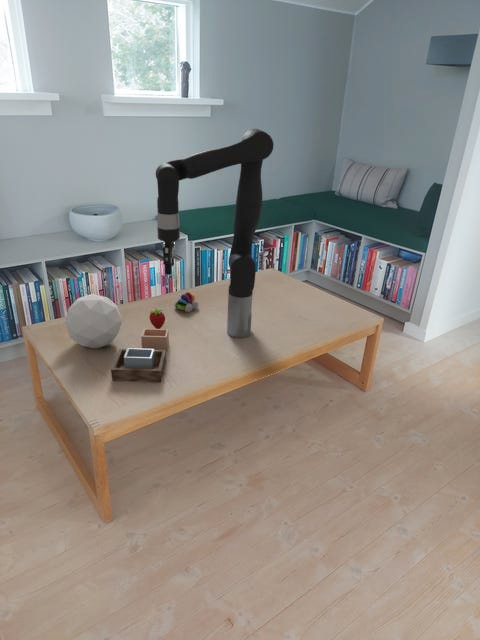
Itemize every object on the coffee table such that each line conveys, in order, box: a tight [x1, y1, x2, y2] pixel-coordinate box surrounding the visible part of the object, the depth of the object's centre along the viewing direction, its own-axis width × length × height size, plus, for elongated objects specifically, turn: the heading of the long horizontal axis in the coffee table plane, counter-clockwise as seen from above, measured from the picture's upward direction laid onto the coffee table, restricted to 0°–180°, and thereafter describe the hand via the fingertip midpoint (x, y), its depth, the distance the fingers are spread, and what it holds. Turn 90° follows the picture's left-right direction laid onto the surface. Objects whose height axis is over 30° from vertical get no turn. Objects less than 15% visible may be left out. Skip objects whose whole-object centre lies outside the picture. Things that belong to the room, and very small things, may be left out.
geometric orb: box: [64, 293, 123, 349], centre depth 168 cm, size 19×20×20 cm
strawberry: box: [148, 308, 166, 329], centre depth 182 cm, size 6×8×10 cm
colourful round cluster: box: [173, 291, 199, 313], centre depth 201 cm, size 8×10×7 cm
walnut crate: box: [110, 348, 167, 383], centre depth 157 cm, size 16×13×4 cm
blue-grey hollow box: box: [124, 347, 155, 369], centre depth 156 cm, size 9×6×6 cm, turn 91°
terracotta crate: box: [140, 328, 170, 352], centre depth 171 cm, size 9×6×6 cm, turn 91°
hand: (169, 269), depth 166 cm, fingers open, 8 cm apart
